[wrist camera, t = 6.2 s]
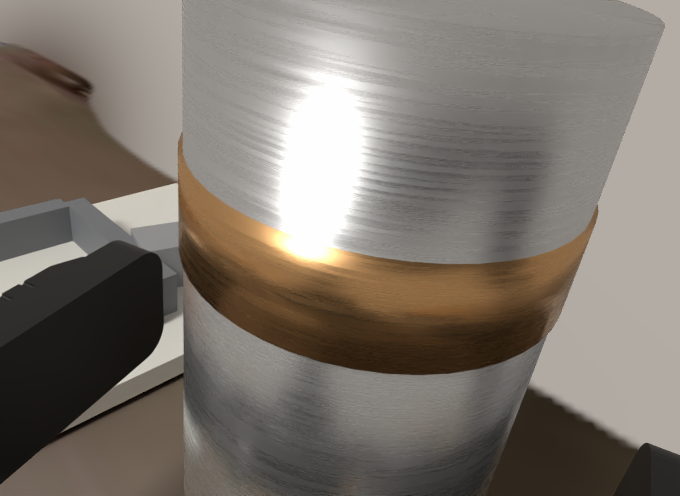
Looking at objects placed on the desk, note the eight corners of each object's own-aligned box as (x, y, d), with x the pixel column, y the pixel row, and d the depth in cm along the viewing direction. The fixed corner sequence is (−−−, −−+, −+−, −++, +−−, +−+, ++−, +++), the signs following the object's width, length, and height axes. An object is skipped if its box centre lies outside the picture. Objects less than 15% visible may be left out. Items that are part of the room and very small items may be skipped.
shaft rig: (176, 197, 31) (176, 141, 30) (327, 301, 25) (336, 238, 24) (-366, 343, 19) (-415, 260, 17) (-328, 623, 13) (-398, 533, 11)
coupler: (392, 577, 15) (569, -22, 8) (414, 824, 11) (794, 69, 4) (204, 565, 15) (219, -71, 8) (157, 815, 11) (104, -22, 4)
